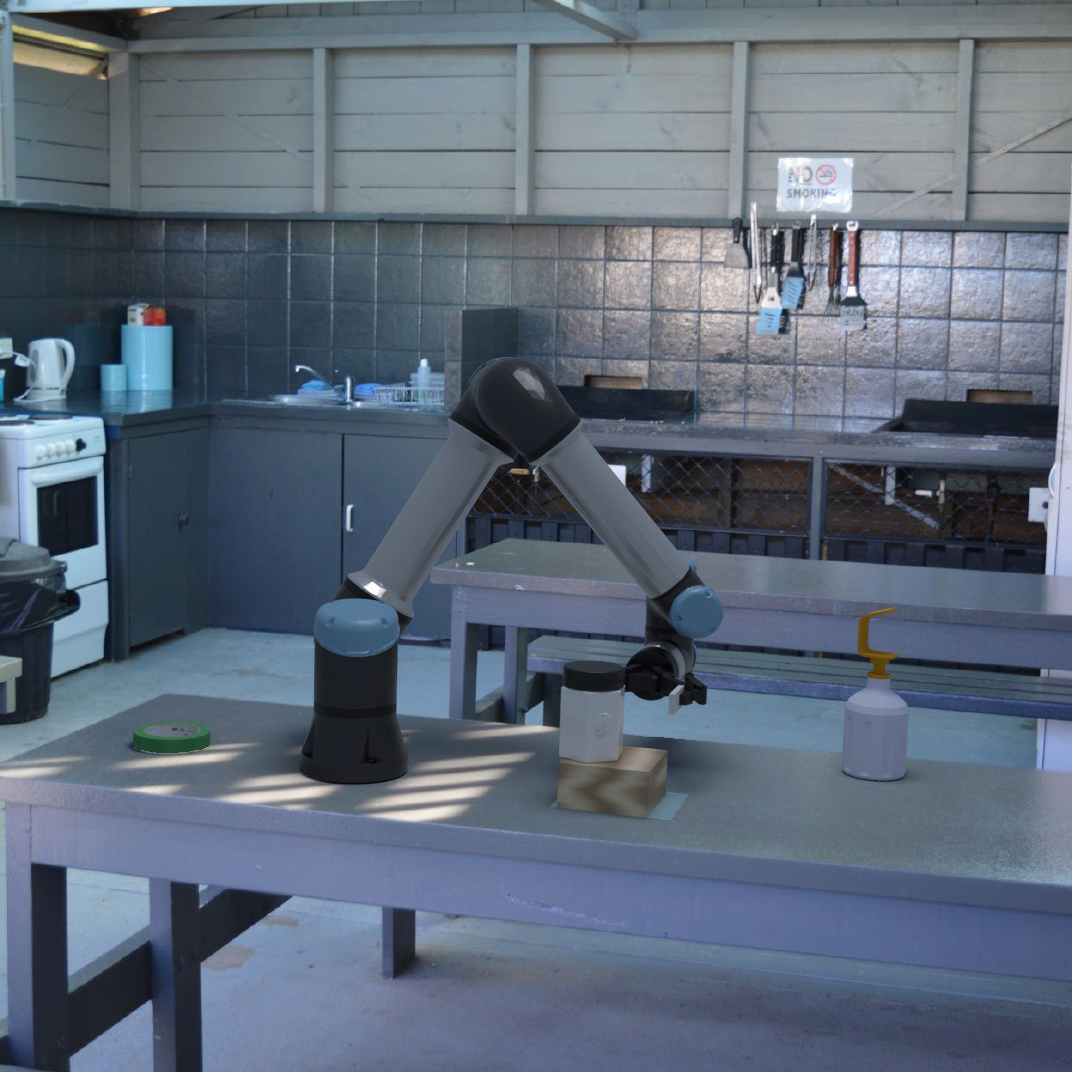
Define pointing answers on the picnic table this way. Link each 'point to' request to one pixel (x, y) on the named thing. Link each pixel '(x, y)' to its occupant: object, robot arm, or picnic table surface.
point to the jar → (592, 711)
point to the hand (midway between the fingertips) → (621, 699)
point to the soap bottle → (875, 719)
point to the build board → (660, 806)
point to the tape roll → (171, 737)
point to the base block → (615, 783)
